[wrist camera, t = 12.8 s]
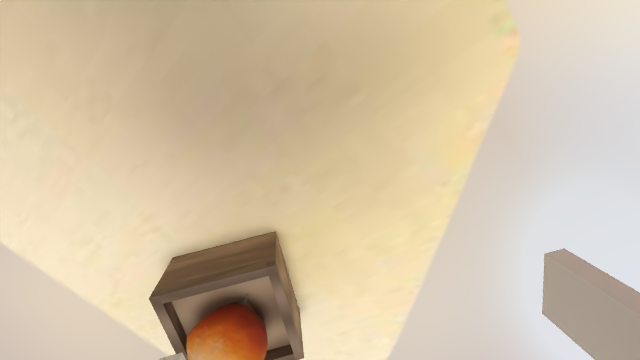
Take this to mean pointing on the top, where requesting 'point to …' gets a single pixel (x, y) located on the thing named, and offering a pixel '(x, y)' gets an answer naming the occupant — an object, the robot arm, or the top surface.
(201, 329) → the fruit
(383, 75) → the top surface
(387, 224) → the top surface
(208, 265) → the open wooden box
